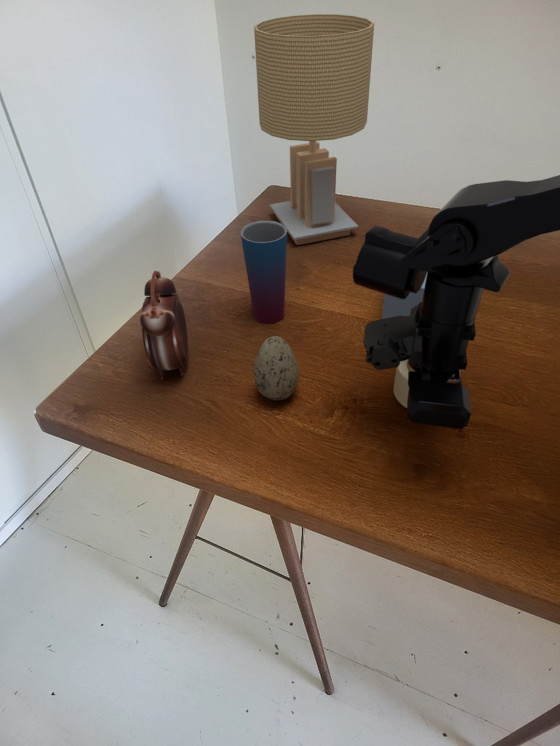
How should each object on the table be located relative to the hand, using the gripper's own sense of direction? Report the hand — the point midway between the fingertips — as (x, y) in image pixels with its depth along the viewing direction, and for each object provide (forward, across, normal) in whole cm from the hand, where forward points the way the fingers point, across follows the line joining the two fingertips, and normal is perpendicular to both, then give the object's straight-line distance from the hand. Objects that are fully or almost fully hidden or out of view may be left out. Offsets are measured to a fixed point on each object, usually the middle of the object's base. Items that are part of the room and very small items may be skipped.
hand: (424, 410), depth 66 cm
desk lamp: (+2, -52, -22) cm, 57 cm away
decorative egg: (+2, -2, -20) cm, 20 cm away
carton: (+2, -25, +1) cm, 25 cm away
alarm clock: (+3, -6, -36) cm, 37 cm away
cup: (+2, -20, -25) cm, 32 cm away
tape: (+2, -6, 0) cm, 6 cm away
